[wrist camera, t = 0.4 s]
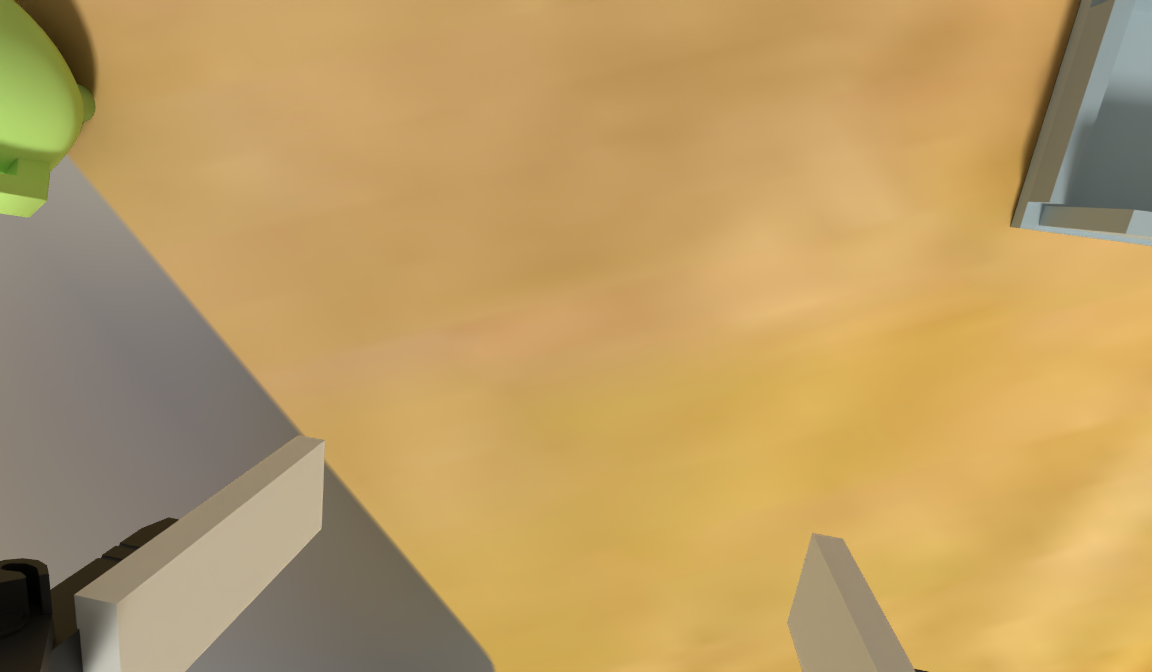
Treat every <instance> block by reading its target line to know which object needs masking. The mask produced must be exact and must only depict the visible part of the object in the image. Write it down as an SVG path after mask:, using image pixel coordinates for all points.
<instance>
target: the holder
mask: <svg viewBox="0 0 1152 672" xmlns="http://www.w3.org/2000/svg"><path fill="white" fill-rule="evenodd" d="M1011 227H1015V228H1022V229H1030V230H1037V231H1045V232H1052V233H1059V234H1067V235H1074V236H1082V237H1089V238H1096V239H1104V240H1111V241H1119V242H1126V243H1133V244H1141V245H1148V246H1152V0H1081V3H1080V7H1079V10H1078V13H1077V16H1076V19H1075V23H1074V26H1073V29H1072V32H1071V35H1070V39H1069V42H1068V45H1067V48H1066V51H1065V54H1064V58H1063V61H1062V64H1061V67H1060V70H1059V74H1058V77H1057V80H1056V83H1055V86H1054V90H1053V93H1052V96H1051V99H1050V102H1049V106H1048V109H1047V112H1046V115H1045V118H1044V122H1043V125H1042V128H1041V131H1040V134H1039V138H1038V141H1037V144H1036V147H1035V150H1034V154H1033V157H1032V160H1031V163H1030V166H1029V169H1028V173H1027V176H1026V179H1025V182H1024V185H1023V189H1022V192H1021V195H1020V198H1019V201H1018V205H1017V208H1016V211H1015V214H1014V217H1013V221H1012V224H1011Z"/></svg>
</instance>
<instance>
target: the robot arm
mask: <svg viewBox="0 0 1152 672" xmlns="http://www.w3.org/2000/svg"><path fill="white" fill-rule="evenodd" d="M324 450H325V440H321V439H316V438H310V437H305V436H300V435H298V436H296V437H295V438H294V439H292V440H291V441H289V442H288V443H287V444H285V445H284V446H283V447H281V448H280V449H278V450H277V451H275V452H274V453H273V454H271V455H270V456H268V457H267V458H266V459H264V460H263V461H261V462H260V463H259V464H257V465H256V466H254V467H253V468H252V469H250V470H249V471H248V472H246V473H244V474H243V475H242V476H240V477H239V478H237V479H236V480H235V481H233V482H232V483H230V484H229V485H228V486H226V487H225V488H223V489H222V490H221V491H220V492H218V493H216V494H215V495H214V496H212V497H211V498H210V499H208V500H207V501H205V502H204V503H202V504H201V505H200V506H198V507H197V508H195V509H194V510H193V511H191V512H190V513H188V514H187V515H185V516H184V517H183V518H181V519H180V520H178V519H174V518H166V519H164V520H161V521H159V522H156V523H154V524H151V525H149V526H146V527H144V528H141V529H140V530H138V531H137V532H135V533H134V534H132V535H131V536H130V537H128V538H127V539H125V540H124V541H122V542H121V543H120V545H119V546H115V547H113V548H112V549H110V550H109V551H107V552H106V553H104V554H103V555H102V557H101V558H97V559H95V560H94V561H93V562H91V563H90V564H88V565H87V566H85V567H84V568H82V569H81V570H79V571H78V572H76V573H75V574H73V575H72V576H70V577H69V578H67V579H66V580H64V581H63V582H61V583H60V584H58V585H57V586H55V587H54V588H52V589H51V590H50V582H49V574H48V568H47V565H45V564H44V563H42V562H40V561H39V560H32V559H24V558H21V559H11V560H3V561H0V672H185V671H186V670H187V669H188V668H189V666H191V665H192V664H193V663H194V661H195V660H196V659H197V658H198V657H199V656H200V655H201V654H202V653H203V652H204V651H205V650H206V649H207V648H208V647H209V646H210V645H211V644H212V642H214V641H215V639H216V638H217V637H218V636H219V635H220V634H221V633H222V632H223V631H224V630H225V629H226V628H227V627H228V626H229V625H230V624H231V623H232V622H233V621H234V620H235V619H236V617H237V616H238V615H239V614H240V613H241V612H242V611H243V610H244V609H245V608H246V607H247V606H248V605H249V604H250V603H251V602H252V601H253V600H254V599H255V598H256V597H257V595H258V594H259V593H260V592H261V591H262V590H263V589H264V588H265V587H266V586H267V585H268V584H269V583H270V582H271V581H272V580H273V579H274V578H275V577H276V576H277V575H278V574H279V572H280V571H281V570H282V569H283V568H284V567H285V566H286V565H287V564H288V563H289V562H290V561H291V560H292V559H293V558H294V557H295V556H296V555H297V554H298V553H299V552H300V550H301V549H302V548H303V547H304V546H305V545H306V544H307V543H308V542H309V541H310V540H311V539H312V538H313V537H314V536H315V535H316V534H317V533H318V532H319V531H320V530H321V527H322V503H323V476H324V475H323V474H324ZM787 624H788V627H789V630H790V633H791V636H792V639H793V643H794V646H795V649H796V652H797V655H798V658H799V662H800V665H801V668H802V671H803V672H927V671H922V670H917V669H914V668H913V666H912V664H911V662H910V660H909V659H908V657H907V655H906V653H905V651H904V650H903V648H902V646H901V644H900V642H899V640H898V639H897V637H896V635H895V633H894V631H893V629H892V628H891V626H890V624H889V622H888V620H887V619H886V617H885V615H884V613H883V611H882V609H881V608H880V606H879V604H878V602H877V600H876V598H875V597H874V595H873V593H872V591H871V589H870V588H869V586H868V584H867V582H866V580H865V578H864V577H863V575H862V573H861V571H860V569H859V567H858V566H857V564H856V562H855V560H854V558H853V557H852V555H851V553H850V551H849V549H848V547H847V546H846V544H845V542H844V540H843V539H841V538H836V537H830V536H825V535H820V534H815V533H812V536H811V540H810V543H809V547H808V551H807V554H806V558H805V561H804V565H803V568H802V572H801V575H800V579H799V583H798V586H797V590H796V593H795V597H794V600H793V604H792V608H791V611H790V615H789V618H788V622H787Z"/></svg>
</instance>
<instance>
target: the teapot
mask: <svg viewBox="0 0 1152 672" xmlns="http://www.w3.org/2000/svg"><path fill="white" fill-rule="evenodd" d="M94 112H95V100H94V98H93V96H92V94H91V92H90V91H89V90H88V89H87V88H85V87H84V86H82V85H78V84H77V83H76V81H75V79H74V77H73V75H72V73H71V70H70V69H69V67H68V65H67V63H66V61H65V60H64V58H63V56H62V55H61V53H60V52H59V50H58V49H57V47H56V46H55V45H54V43H53V42H52V41H51V39H50V38H49V37H48V36H47V34H46V33H45V32H44V31H43V29H42V28H41V27H40V26H39V25H38V24H37V23H36V22H35V21H34V20H33V19H32V17H31V16H30V15H29V14H28V13H27V12H26V11H25V10H24V9H22V8H21V7H20V6H19V5H18V4H17V3H16V2H15V1H14V0H0V213H1V214H8V215H15V216H22V217H30V216H31V215H32V214H33V213H34V212H35V211H36V210H37V209H39V208H40V207H41V206H42V205H43V204H44V203H45V202H46V201H47V197H48V186H49V178H50V171H51V170H52V169H53V168H54V167H55V166H56V165H57V164H58V163H59V162H60V161H61V160H62V158H63V157H64V156H65V155H66V154H67V153H68V151H69V150H70V148H71V147H72V145H73V144H74V143H75V141H76V139H77V137H78V135H79V133H80V131H81V128H82V124H83V121H87V120H89V119H90V118H91V117H92V116H93V115H94Z"/></svg>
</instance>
